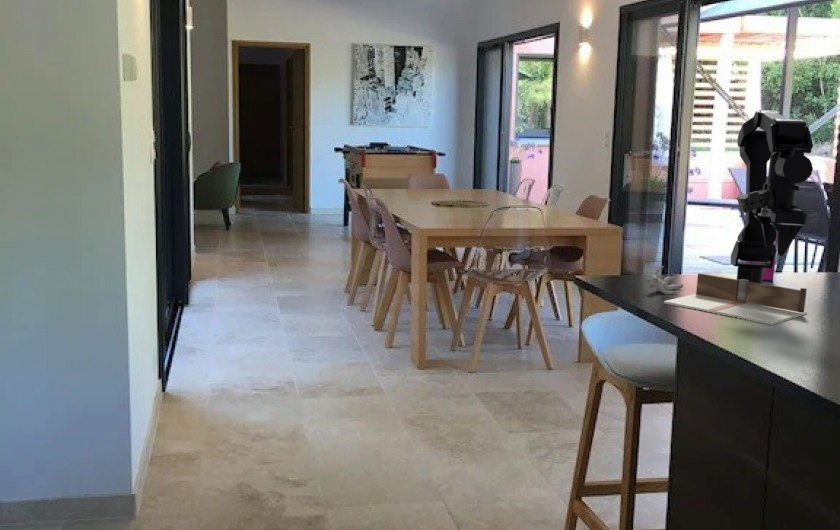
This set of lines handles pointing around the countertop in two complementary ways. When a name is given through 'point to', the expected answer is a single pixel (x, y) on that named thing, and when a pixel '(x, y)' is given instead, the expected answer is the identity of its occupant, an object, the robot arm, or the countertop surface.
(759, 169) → the robot arm
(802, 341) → the countertop surface
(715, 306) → the card
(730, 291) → the fence base
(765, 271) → the supplement box
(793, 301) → the fence panel
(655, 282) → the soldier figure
